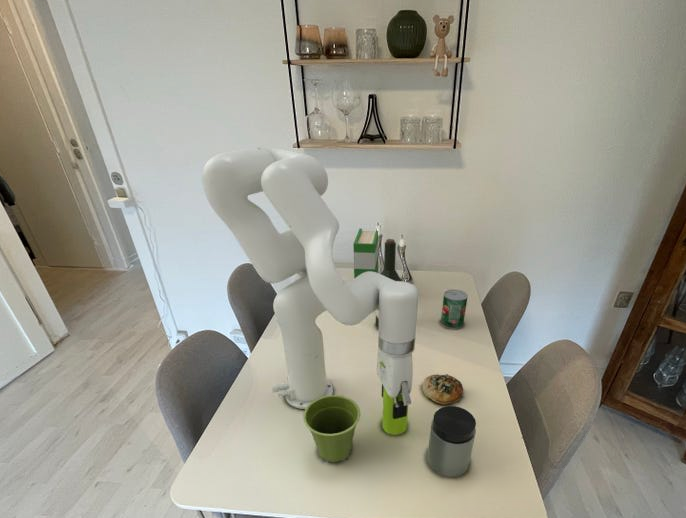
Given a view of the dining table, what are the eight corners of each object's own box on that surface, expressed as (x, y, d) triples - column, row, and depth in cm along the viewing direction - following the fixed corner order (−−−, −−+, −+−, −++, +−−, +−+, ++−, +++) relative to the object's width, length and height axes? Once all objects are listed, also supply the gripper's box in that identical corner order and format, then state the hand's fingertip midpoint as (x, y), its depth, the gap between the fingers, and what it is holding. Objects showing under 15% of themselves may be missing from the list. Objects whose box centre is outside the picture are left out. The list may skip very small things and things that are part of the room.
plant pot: (297, 450, 86) (291, 413, 79) (337, 423, 93) (335, 387, 86) (331, 482, 79) (328, 444, 72) (372, 450, 86) (372, 413, 79)
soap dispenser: (374, 422, 93) (375, 355, 82) (399, 414, 95) (403, 348, 84) (385, 439, 88) (387, 370, 77) (411, 430, 91) (417, 362, 80)
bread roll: (468, 385, 104) (470, 372, 101) (454, 414, 97) (455, 401, 94) (430, 374, 109) (430, 361, 106) (414, 400, 102) (413, 387, 99)
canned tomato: (468, 326, 131) (472, 297, 125) (448, 330, 129) (452, 301, 123) (455, 315, 137) (459, 287, 131) (436, 320, 135) (439, 291, 129)
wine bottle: (400, 320, 134) (404, 236, 118) (399, 332, 128) (403, 245, 111) (376, 319, 135) (377, 235, 119) (374, 331, 128) (375, 244, 112)
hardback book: (360, 286, 158) (359, 228, 145) (378, 287, 158) (378, 229, 144) (354, 306, 143) (353, 243, 130) (374, 307, 143) (375, 244, 130)
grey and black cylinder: (438, 481, 79) (444, 441, 72) (420, 449, 86) (424, 410, 79) (476, 471, 81) (486, 430, 74) (456, 440, 88) (463, 401, 81)
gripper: (366, 323, 84) (367, 386, 94) (394, 369, 70) (391, 436, 80) (398, 318, 86) (395, 380, 96) (431, 361, 72) (424, 429, 82)
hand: (393, 405), depth 88 cm, fingers open, 6 cm apart
